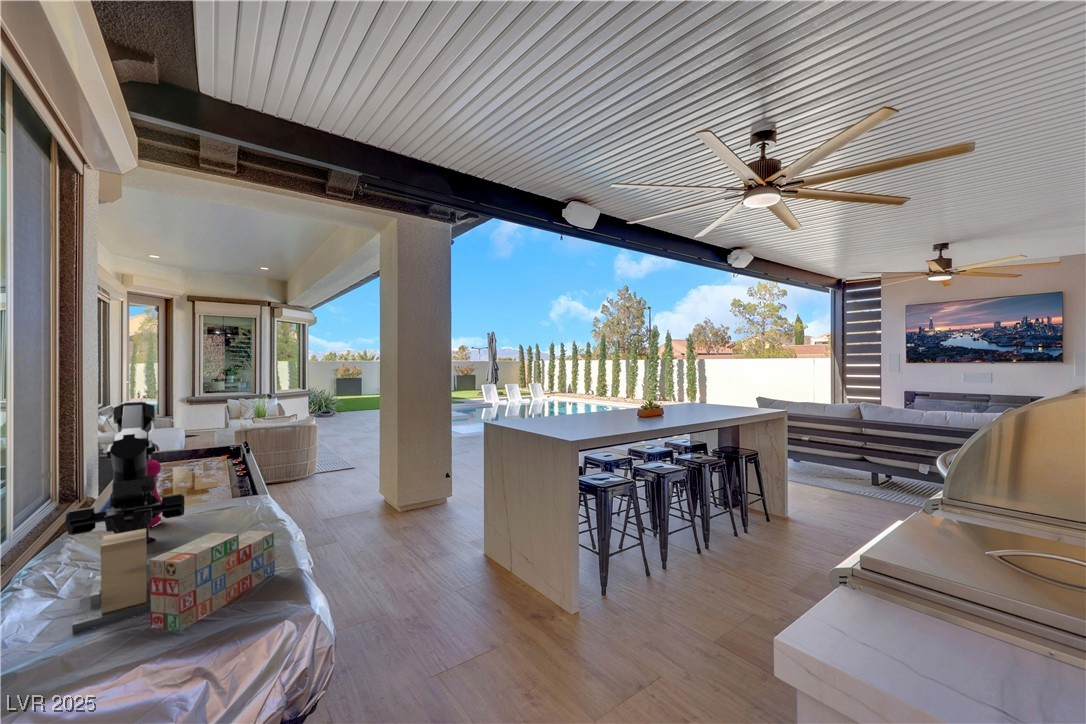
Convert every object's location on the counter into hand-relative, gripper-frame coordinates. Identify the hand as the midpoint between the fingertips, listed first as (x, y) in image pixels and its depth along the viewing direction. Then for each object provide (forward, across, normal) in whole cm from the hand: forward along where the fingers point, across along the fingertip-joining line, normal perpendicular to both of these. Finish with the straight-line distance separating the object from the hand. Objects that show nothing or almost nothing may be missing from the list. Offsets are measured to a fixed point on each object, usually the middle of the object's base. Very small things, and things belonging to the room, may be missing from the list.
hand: (128, 549), depth 94 cm
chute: (+8, 0, +2) cm, 9 cm away
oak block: (+13, 0, -5) cm, 13 cm away
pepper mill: (-24, +2, +35) cm, 42 cm away
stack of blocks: (+18, +14, -8) cm, 24 cm away
